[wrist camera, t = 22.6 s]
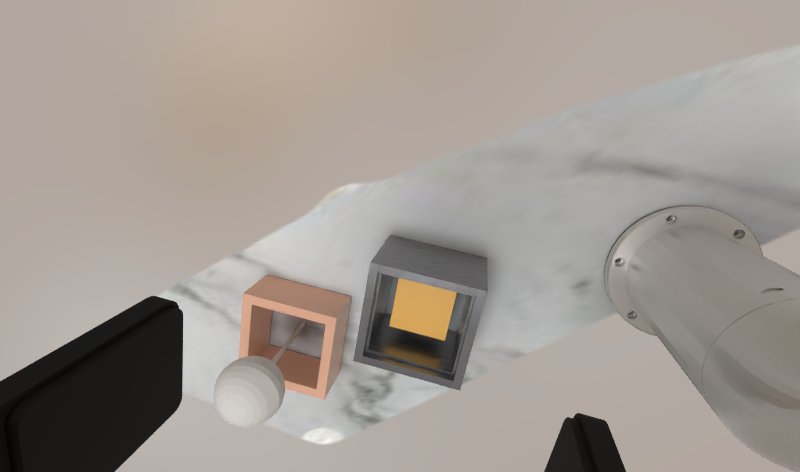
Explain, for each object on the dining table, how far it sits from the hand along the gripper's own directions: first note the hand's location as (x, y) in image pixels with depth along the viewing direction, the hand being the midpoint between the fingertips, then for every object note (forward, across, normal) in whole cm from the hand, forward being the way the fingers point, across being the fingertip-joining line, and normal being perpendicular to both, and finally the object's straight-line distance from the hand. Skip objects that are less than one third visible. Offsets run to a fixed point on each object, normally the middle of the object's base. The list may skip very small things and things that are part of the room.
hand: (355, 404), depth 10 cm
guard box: (+32, 0, +12) cm, 34 cm away
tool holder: (+32, +13, +20) cm, 40 cm away
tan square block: (+32, 0, +12) cm, 34 cm away
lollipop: (+32, +13, +20) cm, 40 cm away
